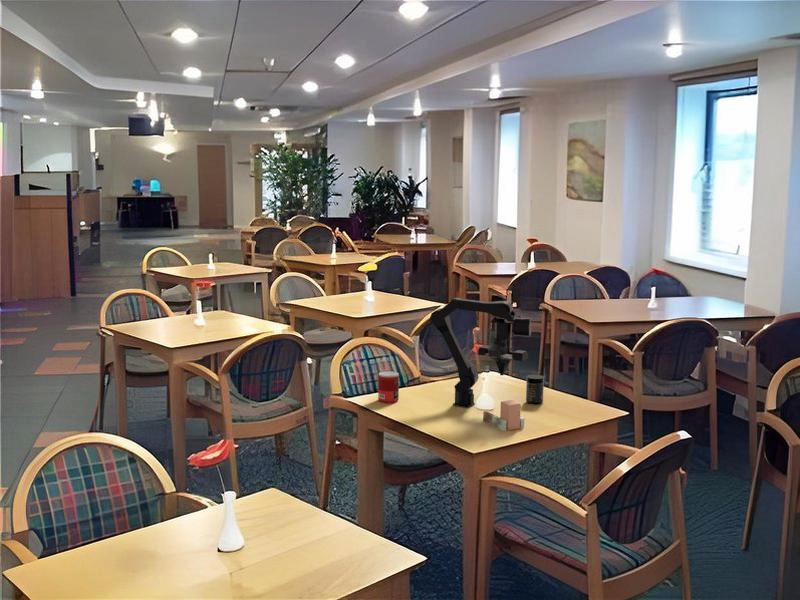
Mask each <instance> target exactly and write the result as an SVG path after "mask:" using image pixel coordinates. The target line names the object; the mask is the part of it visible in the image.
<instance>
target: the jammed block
mask: <svg viewBox="0 0 800 600" xmlns="http://www.w3.org/2000/svg"><path fill="white" fill-rule="evenodd" d="M520 416H521V402H518V401H516V400H513V399H510V400H504V401H500V416H499V417H500V418H502V419H504V420H506V421H507V422H506V431H512V430H518V429H521V428H520Z"/></svg>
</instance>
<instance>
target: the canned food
mask: <svg viewBox="0 0 800 600" xmlns="http://www.w3.org/2000/svg"><path fill="white" fill-rule="evenodd" d="M377 379H378V380H377V381H378V382H377V384H378V389H377V392H378V402H380V403H382V404H395V403H398V401H399V399H400V398H399V391H400V389H399V388H400V387H399V386H400V385H399V384H400V373H399V372H397V371H387V370H386V371H381V372H379V373H378V377H377Z"/></svg>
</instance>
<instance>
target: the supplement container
mask: <svg viewBox="0 0 800 600" xmlns="http://www.w3.org/2000/svg"><path fill="white" fill-rule="evenodd" d="M544 383H545V376H543V375H539V374H528V375H526V385H525V386H526V387H525V389H526V390H525V391H526V393H525V402H526V403H527V404H528V405H532V404H533V405H534V406H535V405H542V403H544V387H545V385H544Z"/></svg>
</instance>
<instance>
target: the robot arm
mask: <svg viewBox="0 0 800 600" xmlns="http://www.w3.org/2000/svg"><path fill="white" fill-rule="evenodd" d="M456 310H464V311H470V312H479V313H484V314H485V313H486V314H489V315H491V316H493V318H492V319H491V320H490V323H492V324H495V337H493V342H492V343H491V344H490V345H485V344H484V345H481V346H479V347H478V349H477V356H486V354H488V357H489V358H490V359H492V360H493V361H494V362H495V364H496V365H497V369H498V372H499V374H500V376H504V375H505V373H506V370H507V369H508V367H509V364H510V363H511V361H512V360H513V361H518V362H521V361H522V362H523V361H526V360H527V359H528V358H529V353H528V351H526V350H521V349H518V350H515V351H512V350H513V347H512V346H511V341H512V340H513V336H512V334H513V335H514V336H515V337H529V338H531V335H532V328H533V327H532V321H531V318H530V317H529V318H528V317H524V318H523V317H522V318H521V317H518V315H517V314H516V313H515V311H514V309H513V305H512V303H511V302H510V301H508V300H498V301H497V300H496V301H483V300H476V299H475V300H474V299H466V298H460V297H454V298H452V299H451V300H449V302H448V303H447V304H445V305H444V306H443V307H440V308H437V309H436V310H434V311H433V312H431V313H430V317H429V319H430V320H429V321H430V322H431V324H432V325H433V327H434V328H435V329H436V330H437V331H438V332H439V333H440V334H441V337H442V338H443V340H444V342H445V344H446V346H447V348H448V351H449V353H450V355H451V357H452V359H453V361H454V363H455V365H456V368H457V373H458V374H457V375H458V379H459V381H458V382H457V383H456V384H455V385H454V386H453V387H454V403H452V406H455V407H456V406H457V407H461V408H467V409H468V408H469V407H472V406H474V405H475V404H476V403H475V393H474V389H472V388H473V387H474V386H475V384H477V382H478V380H479V373H480V372H479V371H478V370H477V368H476V364H475V363H473V364H471V363H470V362H469V361H468V359H467V358H466V356H465V354H464V352H463V350H462V346H461V345H460V343H459V342H458V339H457V337H456V335H455V333H454V331H453V328H452V322H451V318H450V315H451V314H453V313H454V312H455V311H456Z"/></svg>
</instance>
